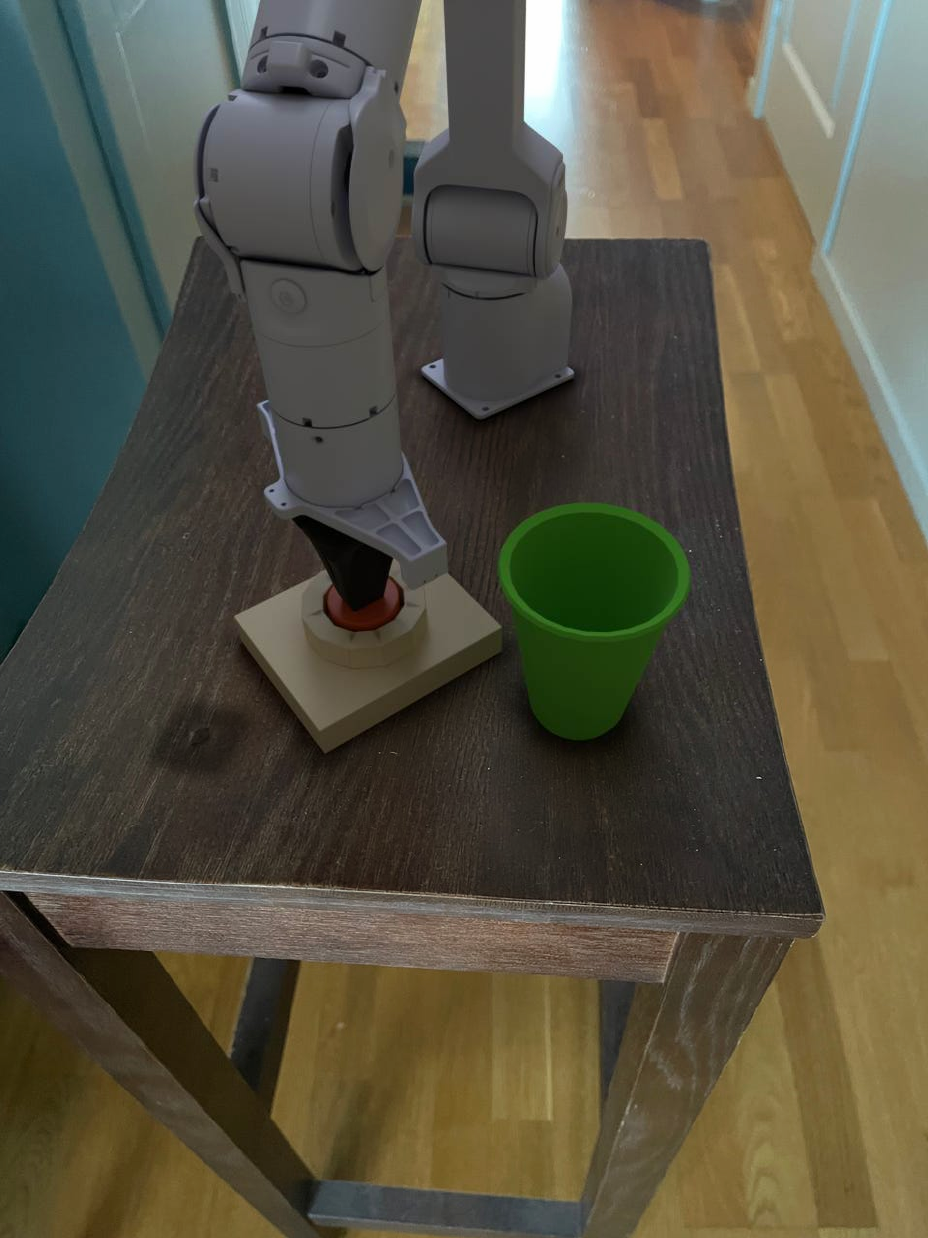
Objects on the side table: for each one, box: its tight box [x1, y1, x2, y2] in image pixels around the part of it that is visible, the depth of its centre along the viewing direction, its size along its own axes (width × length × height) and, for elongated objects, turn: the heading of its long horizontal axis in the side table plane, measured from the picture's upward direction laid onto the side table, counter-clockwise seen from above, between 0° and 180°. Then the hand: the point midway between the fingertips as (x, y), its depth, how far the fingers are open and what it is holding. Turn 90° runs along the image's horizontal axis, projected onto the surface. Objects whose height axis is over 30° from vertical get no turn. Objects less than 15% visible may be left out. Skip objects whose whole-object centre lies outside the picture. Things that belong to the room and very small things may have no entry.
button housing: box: [233, 558, 503, 754], centre depth 53 cm, size 12×10×4 cm
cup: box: [496, 502, 692, 741], centre depth 47 cm, size 9×9×11 cm
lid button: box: [327, 578, 401, 632], centre depth 52 cm, size 4×4×2 cm
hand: (362, 597), depth 51 cm, fingers closed, pressing on lid button
